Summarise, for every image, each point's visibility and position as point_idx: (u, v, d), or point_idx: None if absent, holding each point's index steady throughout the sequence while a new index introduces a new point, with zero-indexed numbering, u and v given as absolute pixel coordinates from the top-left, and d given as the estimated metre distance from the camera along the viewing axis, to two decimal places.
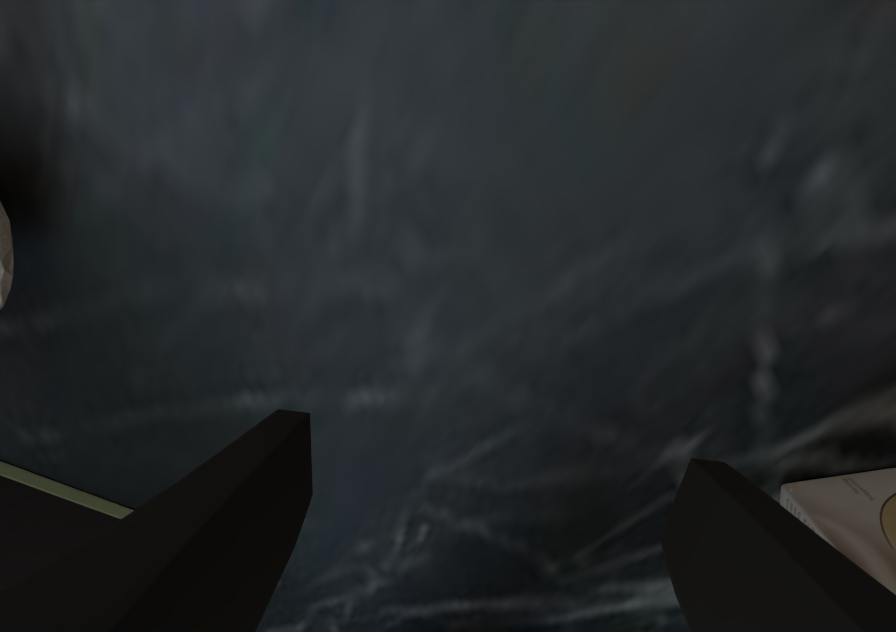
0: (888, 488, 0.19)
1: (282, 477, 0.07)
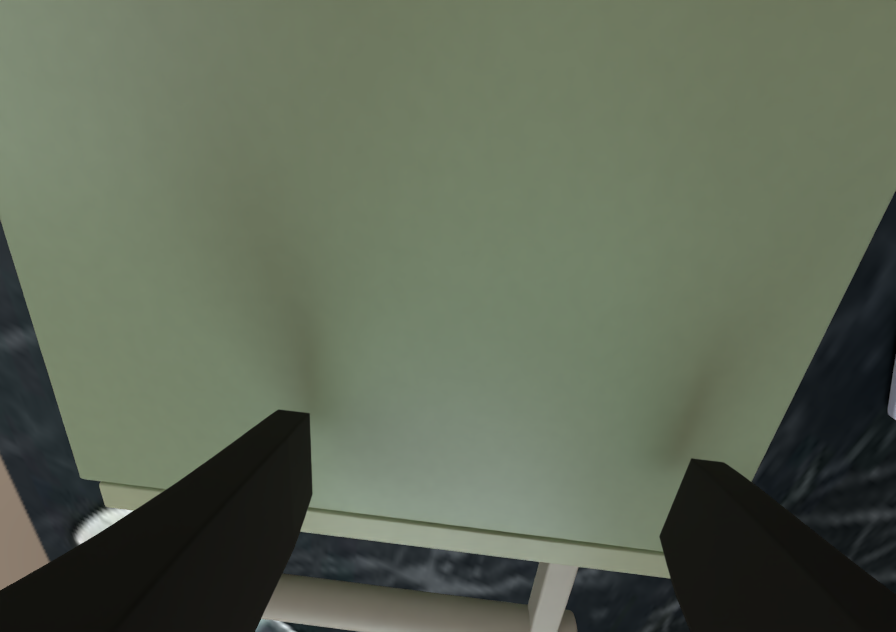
0: None
1: (282, 477, 0.07)
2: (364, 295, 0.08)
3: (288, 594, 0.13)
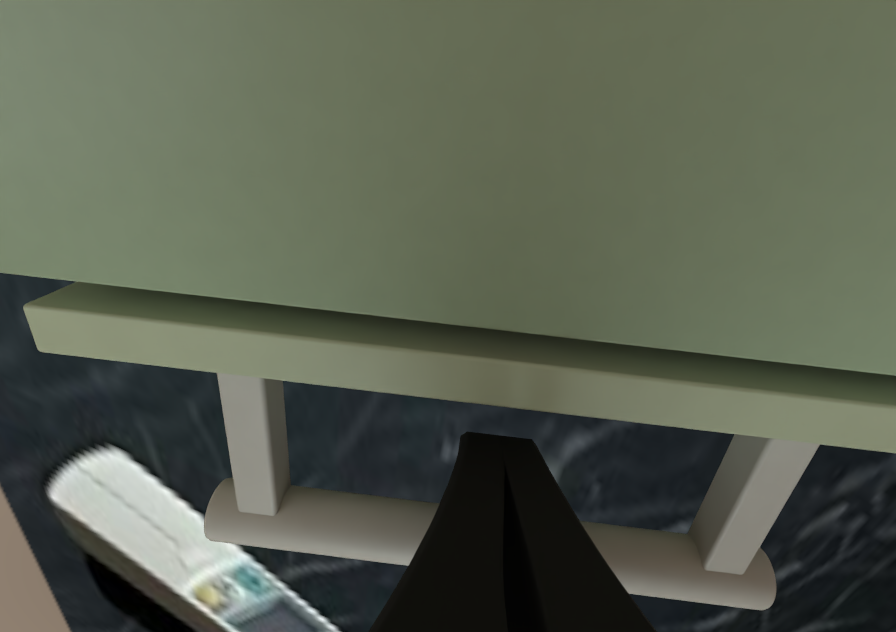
0: None
1: None
2: None
3: (333, 514, 0.09)
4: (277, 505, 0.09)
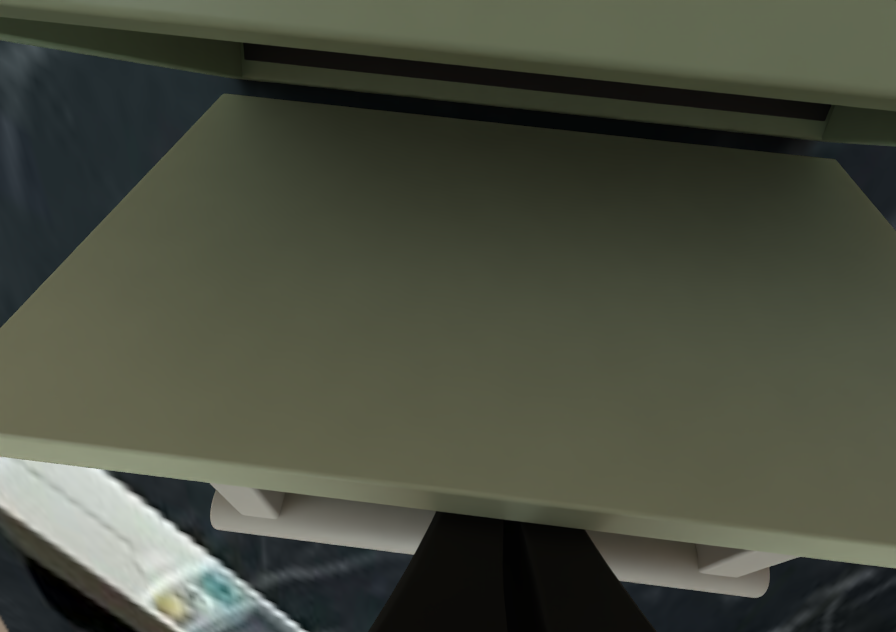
0: None
1: None
2: None
3: (334, 518, 0.09)
4: (277, 512, 0.09)
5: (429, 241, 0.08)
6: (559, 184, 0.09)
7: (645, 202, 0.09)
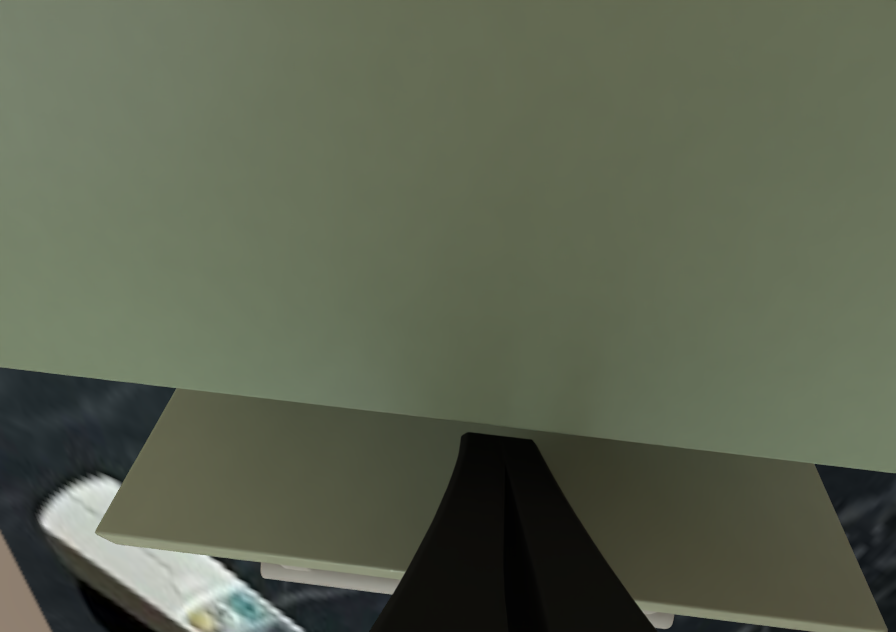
0: None
1: None
2: None
3: None
4: None
5: None
6: None
7: None
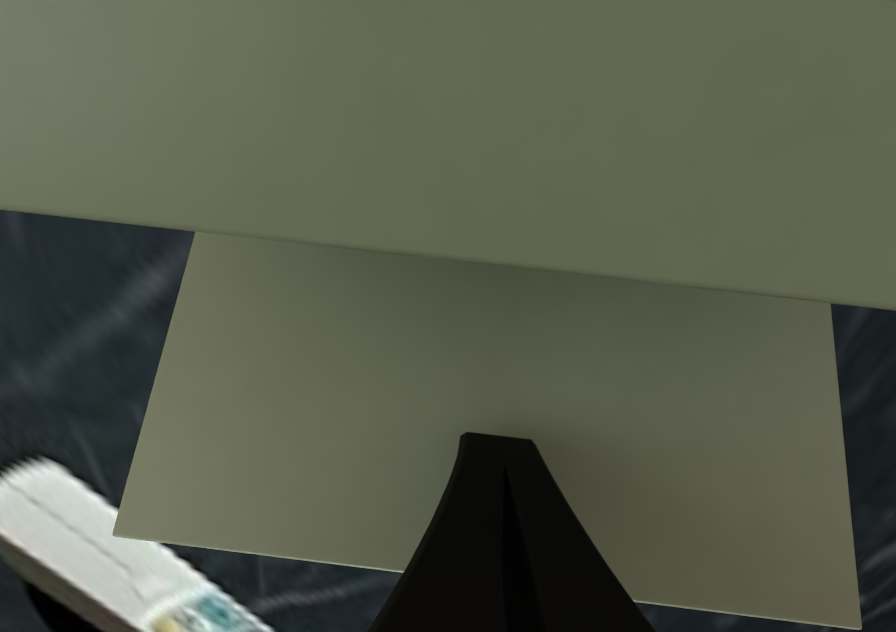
0: None
1: None
2: None
3: None
4: None
5: (421, 358, 0.10)
6: (538, 276, 0.10)
7: (611, 296, 0.10)
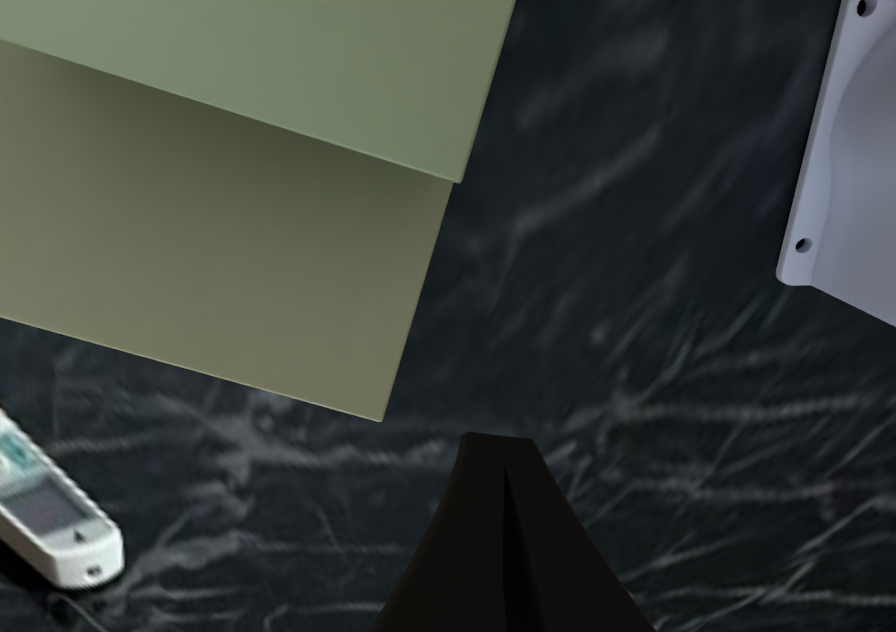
0: None
1: None
2: None
3: None
4: None
5: (127, 199, 0.13)
6: (235, 161, 0.14)
7: (285, 185, 0.14)
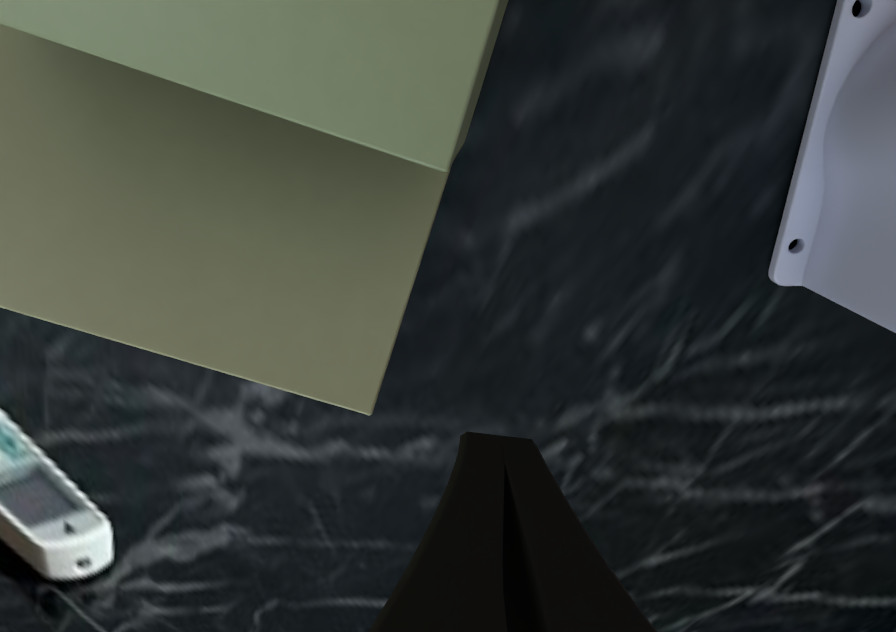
0: None
1: None
2: None
3: None
4: None
5: (119, 187, 0.13)
6: (228, 151, 0.14)
7: (278, 176, 0.14)
